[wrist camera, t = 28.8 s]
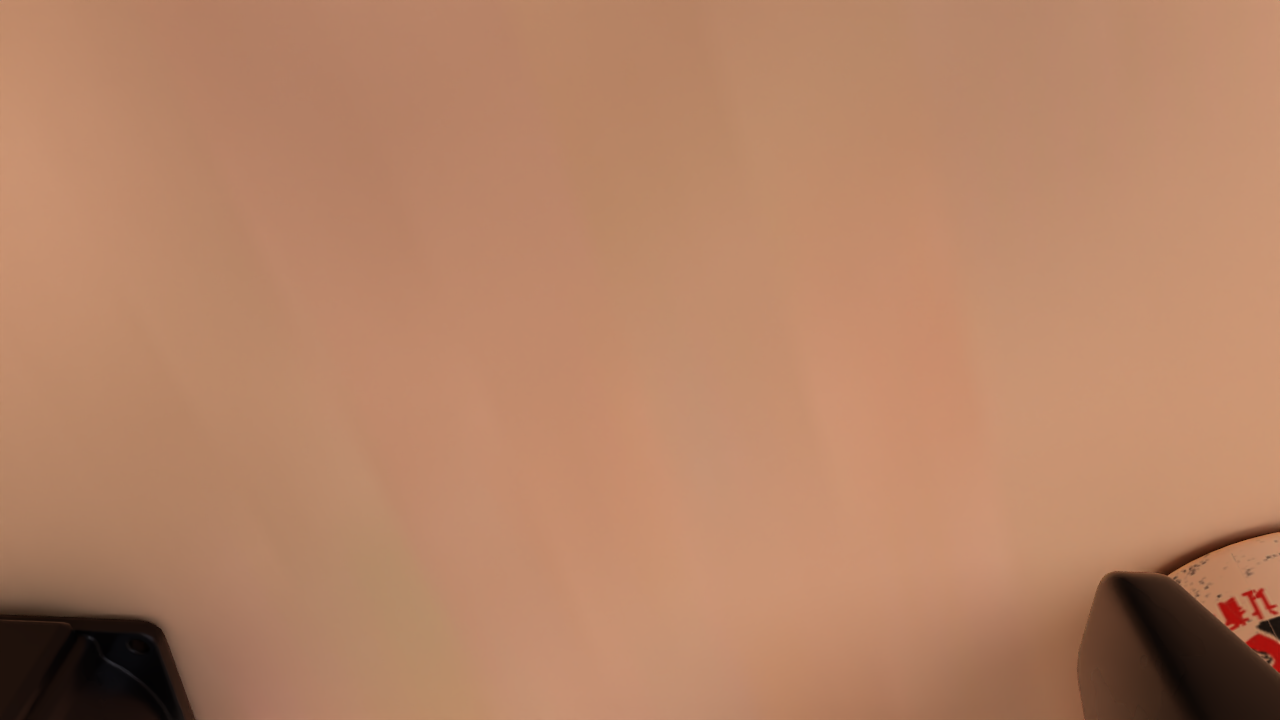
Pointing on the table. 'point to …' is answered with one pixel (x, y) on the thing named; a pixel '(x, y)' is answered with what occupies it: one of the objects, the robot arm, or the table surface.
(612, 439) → the table surface
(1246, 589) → the teacup with lid
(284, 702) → the table surface
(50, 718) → the robot arm
